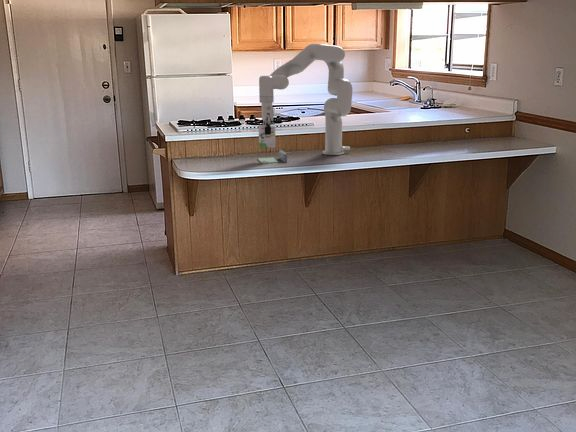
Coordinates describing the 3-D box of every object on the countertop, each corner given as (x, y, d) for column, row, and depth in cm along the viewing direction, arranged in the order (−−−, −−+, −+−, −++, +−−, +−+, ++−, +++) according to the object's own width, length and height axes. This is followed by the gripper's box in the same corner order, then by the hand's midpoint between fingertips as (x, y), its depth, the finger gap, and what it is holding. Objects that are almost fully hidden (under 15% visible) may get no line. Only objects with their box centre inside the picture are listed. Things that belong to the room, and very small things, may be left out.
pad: (273, 158, 337) (273, 157, 337) (278, 162, 324) (278, 161, 324) (257, 159, 335) (257, 158, 335) (261, 163, 323) (261, 162, 323)
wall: (282, 158, 338) (282, 150, 336) (287, 162, 325) (287, 154, 324) (279, 158, 337) (278, 150, 336) (283, 162, 325) (283, 154, 324)
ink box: (260, 148, 324) (259, 126, 321) (258, 146, 329) (258, 124, 326) (275, 147, 326) (275, 125, 323) (274, 146, 331) (273, 124, 328)
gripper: (276, 100, 313) (276, 135, 318) (270, 98, 329) (271, 131, 334) (262, 101, 312) (262, 136, 317) (257, 98, 328) (257, 131, 333)
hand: (267, 133), depth 326 cm, fingers closed on ink box, 5 cm apart
